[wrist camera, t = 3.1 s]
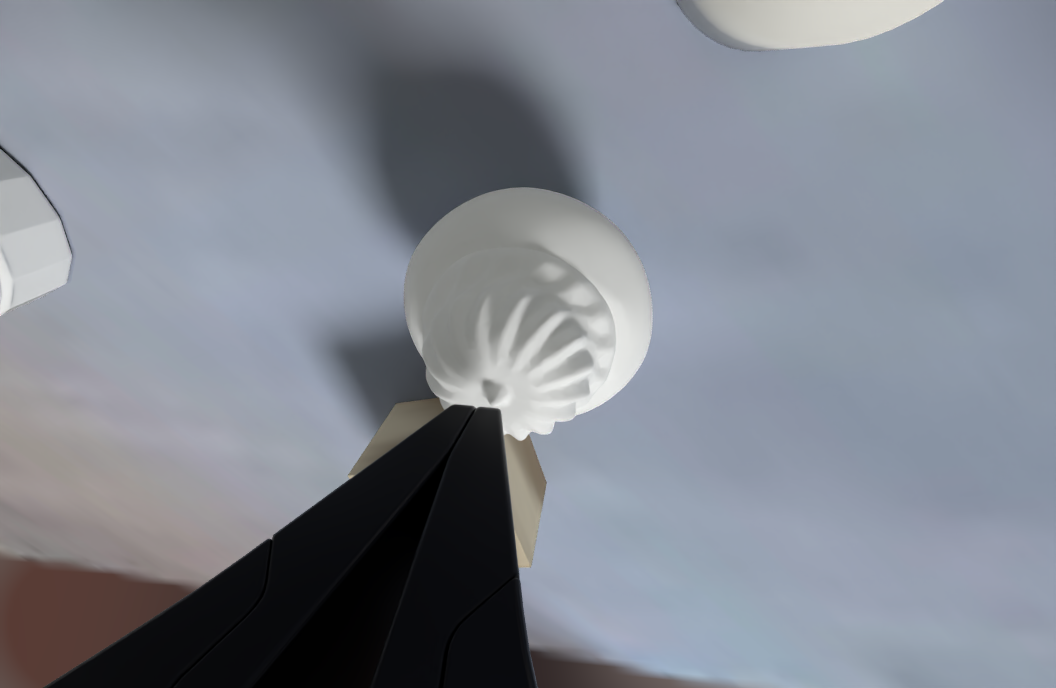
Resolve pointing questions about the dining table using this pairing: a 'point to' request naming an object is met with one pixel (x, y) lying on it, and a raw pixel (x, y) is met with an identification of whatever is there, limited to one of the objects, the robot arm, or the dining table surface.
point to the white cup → (28, 240)
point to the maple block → (520, 463)
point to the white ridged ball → (528, 307)
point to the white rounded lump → (798, 21)
